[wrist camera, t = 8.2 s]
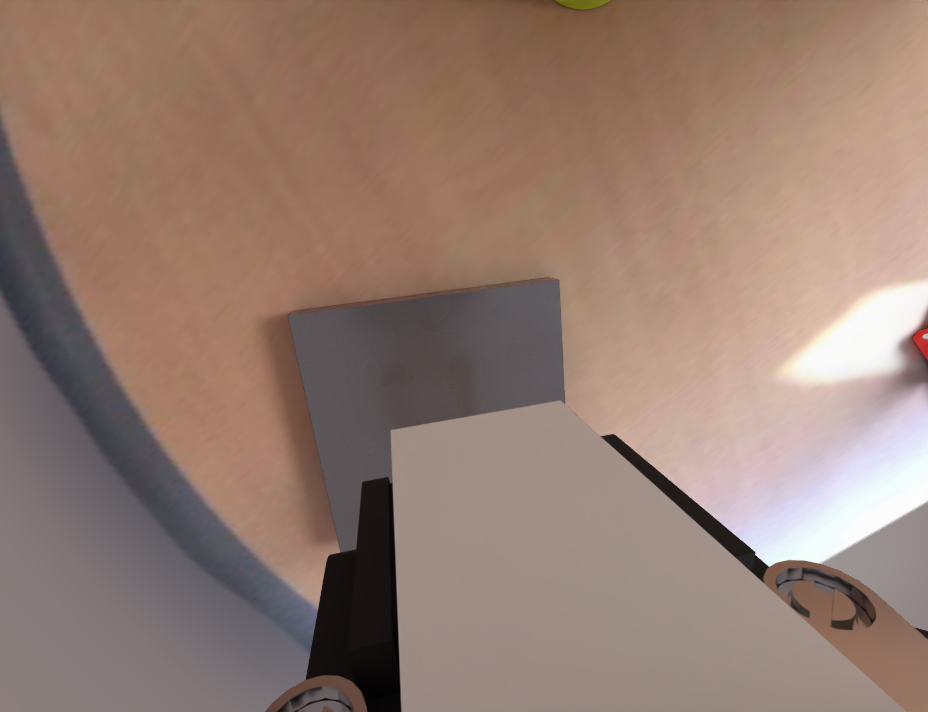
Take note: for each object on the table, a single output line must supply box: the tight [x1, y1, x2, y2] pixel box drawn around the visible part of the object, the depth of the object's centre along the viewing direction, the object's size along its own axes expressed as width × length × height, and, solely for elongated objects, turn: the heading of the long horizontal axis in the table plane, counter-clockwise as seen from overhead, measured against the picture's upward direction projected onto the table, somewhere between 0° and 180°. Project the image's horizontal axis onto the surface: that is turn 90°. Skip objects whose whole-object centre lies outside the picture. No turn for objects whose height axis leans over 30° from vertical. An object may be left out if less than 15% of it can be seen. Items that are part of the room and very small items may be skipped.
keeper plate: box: [288, 277, 565, 552], centre depth 22 cm, size 14×14×8 cm
